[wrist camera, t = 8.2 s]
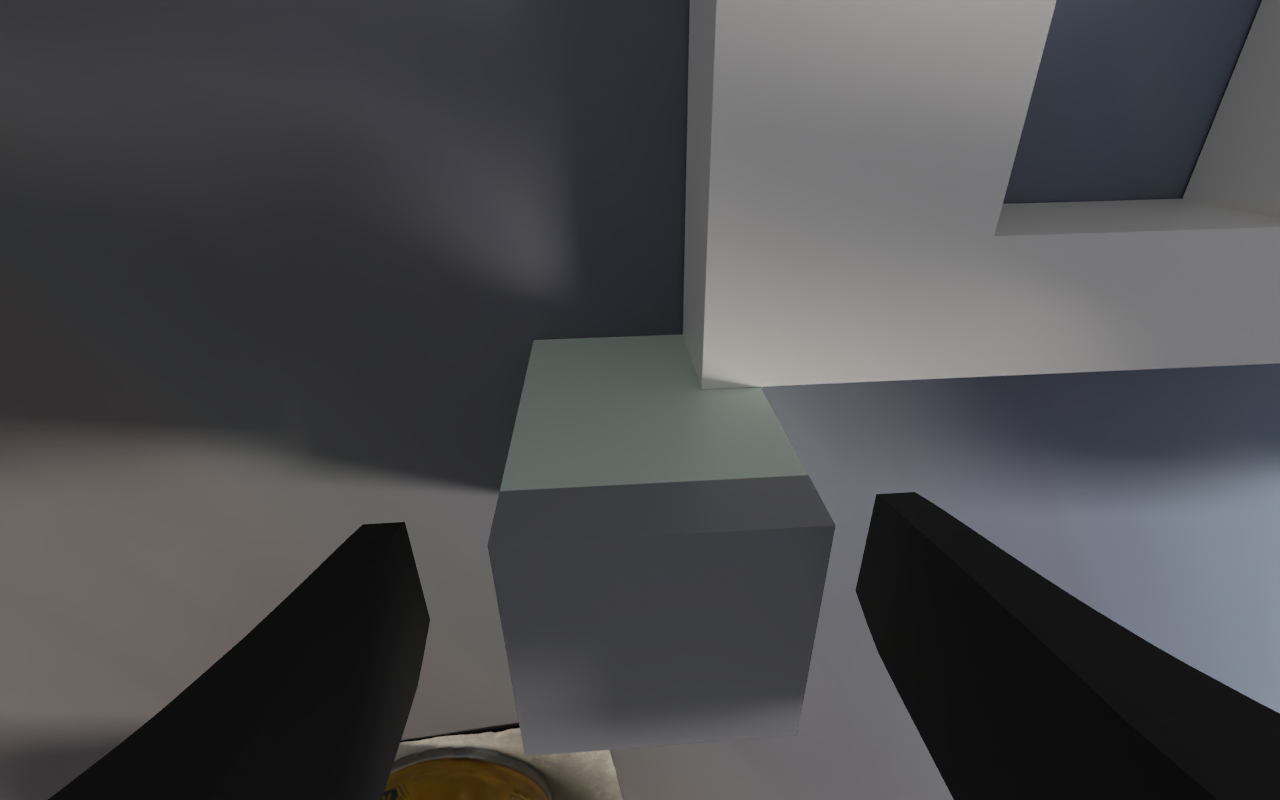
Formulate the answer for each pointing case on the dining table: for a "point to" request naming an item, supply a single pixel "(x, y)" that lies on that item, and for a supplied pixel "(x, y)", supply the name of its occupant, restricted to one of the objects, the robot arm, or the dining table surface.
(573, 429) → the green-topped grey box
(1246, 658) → the dining table surface
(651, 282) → the dining table surface
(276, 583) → the dining table surface
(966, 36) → the socket
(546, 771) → the yellow metal cylinder
